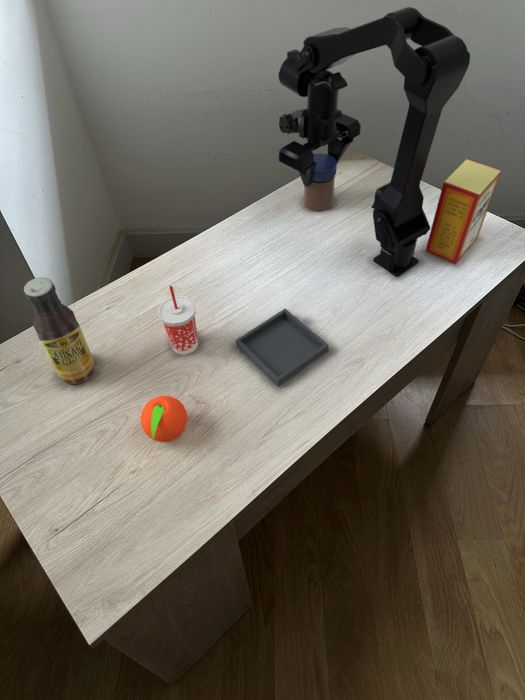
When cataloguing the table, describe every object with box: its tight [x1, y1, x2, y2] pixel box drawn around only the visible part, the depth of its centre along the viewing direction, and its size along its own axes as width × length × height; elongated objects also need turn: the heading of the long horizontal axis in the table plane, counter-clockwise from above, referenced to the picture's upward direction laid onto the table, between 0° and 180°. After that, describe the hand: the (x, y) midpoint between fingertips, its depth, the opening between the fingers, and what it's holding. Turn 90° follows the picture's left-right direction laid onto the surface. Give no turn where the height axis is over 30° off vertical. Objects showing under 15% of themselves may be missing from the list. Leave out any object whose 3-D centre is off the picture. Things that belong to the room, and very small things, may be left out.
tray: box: [235, 308, 329, 388], centre depth 89 cm, size 11×11×2 cm
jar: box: [303, 175, 336, 212], centre depth 111 cm, size 6×6×9 cm
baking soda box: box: [425, 158, 503, 265], centre depth 98 cm, size 10×6×16 cm
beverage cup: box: [157, 285, 199, 355], centre depth 85 cm, size 6×6×14 cm
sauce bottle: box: [23, 276, 95, 385], centre depth 80 cm, size 7×6×20 cm
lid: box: [312, 153, 338, 182], centre depth 108 cm, size 7×7×2 cm
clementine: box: [140, 395, 188, 443], centre depth 77 cm, size 8×7×7 cm
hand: (318, 178), depth 110 cm, fingers open, 7 cm apart
